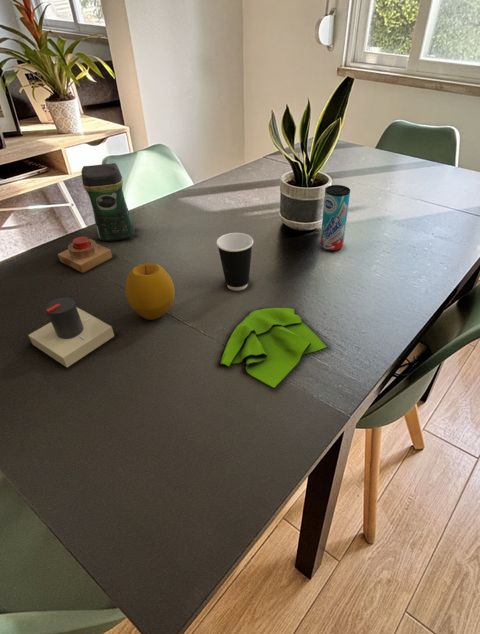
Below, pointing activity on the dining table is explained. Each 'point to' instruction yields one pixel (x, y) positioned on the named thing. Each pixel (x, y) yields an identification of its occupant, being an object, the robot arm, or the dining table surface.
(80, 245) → the button
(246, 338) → the cloth
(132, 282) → the apple
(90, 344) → the panel
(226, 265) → the dixie cup
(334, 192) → the beverage can
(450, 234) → the dining table surface
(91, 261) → the button block
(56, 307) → the knob
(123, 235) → the coffee jar
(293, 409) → the dining table surface
